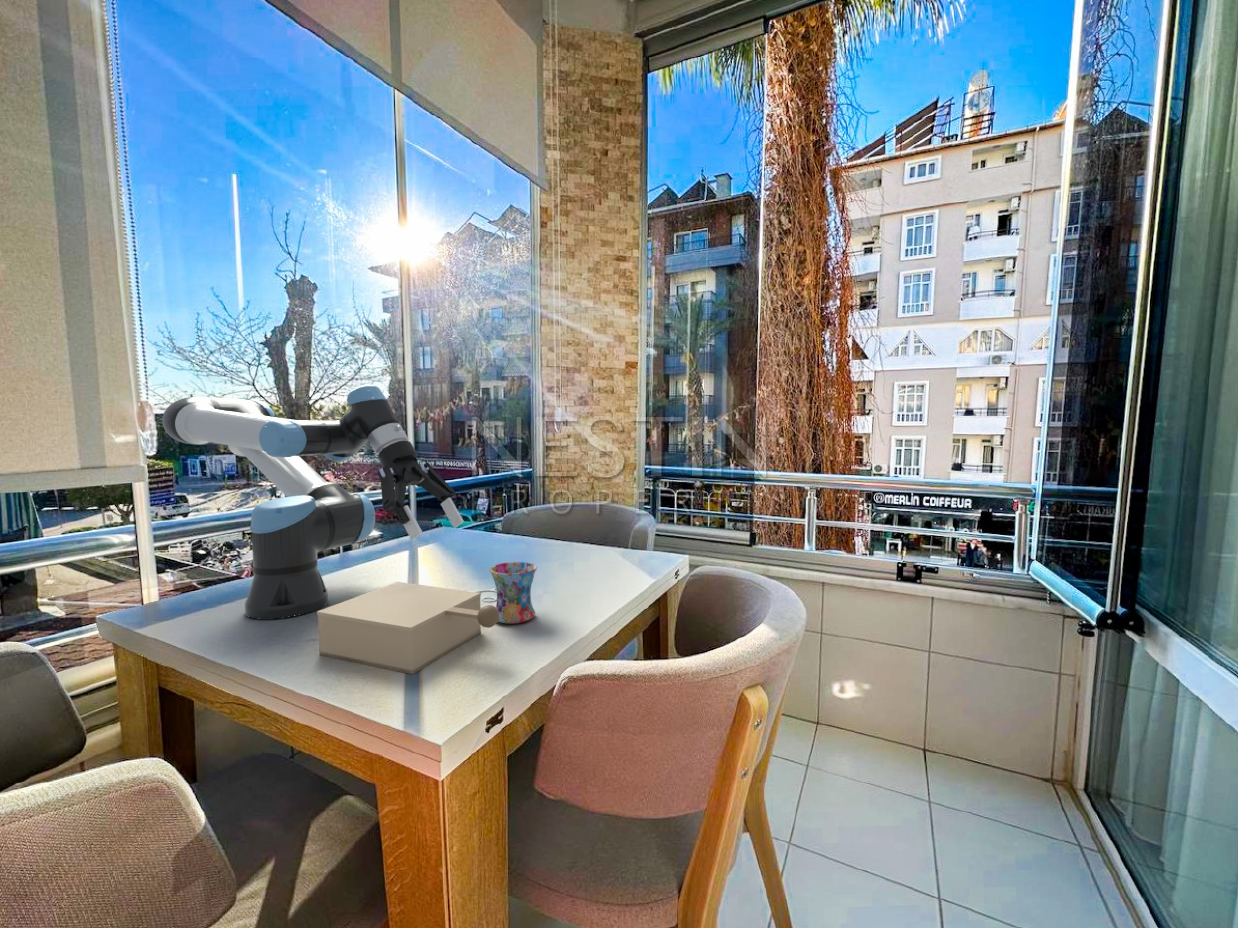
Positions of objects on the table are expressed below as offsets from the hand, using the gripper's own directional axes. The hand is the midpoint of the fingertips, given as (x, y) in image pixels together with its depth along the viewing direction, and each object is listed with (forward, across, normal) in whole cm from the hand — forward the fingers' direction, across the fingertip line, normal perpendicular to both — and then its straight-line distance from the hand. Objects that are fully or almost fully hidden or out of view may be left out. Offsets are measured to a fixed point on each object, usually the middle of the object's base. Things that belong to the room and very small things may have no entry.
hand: (439, 530), depth 115 cm
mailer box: (+18, -19, +4) cm, 26 cm away
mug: (+25, 0, -6) cm, 26 cm away
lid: (+16, -19, -4) cm, 25 cm away
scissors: (+14, +9, +10) cm, 20 cm away
